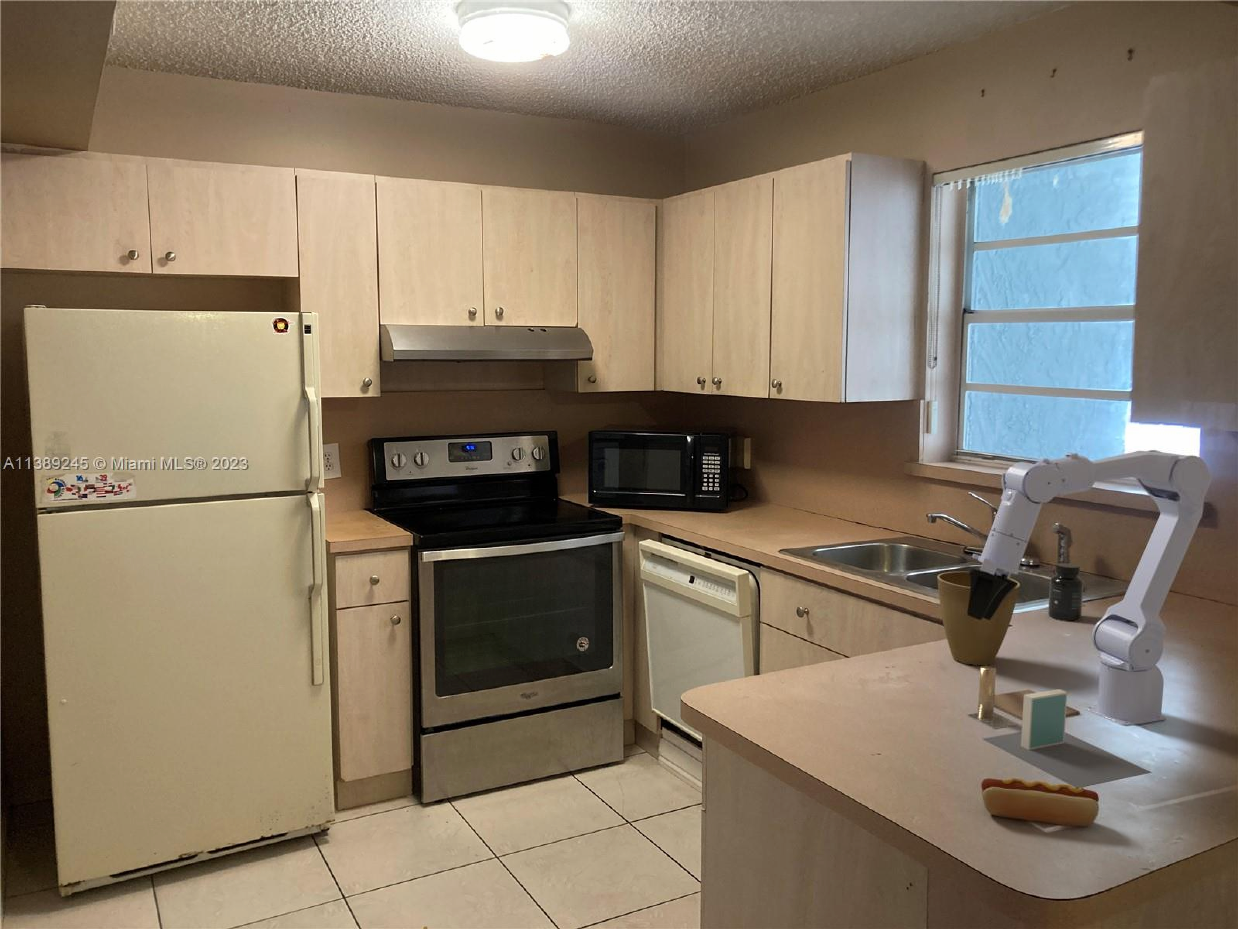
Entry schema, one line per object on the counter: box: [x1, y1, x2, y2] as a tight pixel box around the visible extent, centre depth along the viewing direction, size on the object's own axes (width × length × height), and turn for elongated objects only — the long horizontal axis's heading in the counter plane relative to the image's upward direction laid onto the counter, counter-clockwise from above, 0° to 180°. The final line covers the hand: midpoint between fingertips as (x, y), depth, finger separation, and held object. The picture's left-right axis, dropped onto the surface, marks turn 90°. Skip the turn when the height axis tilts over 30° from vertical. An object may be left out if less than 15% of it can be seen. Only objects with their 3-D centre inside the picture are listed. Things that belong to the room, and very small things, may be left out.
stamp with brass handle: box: [966, 665, 1019, 730], centre depth 156 cm, size 6×5×9 cm
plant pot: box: [937, 571, 1020, 666], centre depth 188 cm, size 15×15×16 cm
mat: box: [982, 731, 1152, 788], centre depth 143 cm, size 14×18×1 cm
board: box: [994, 689, 1081, 721], centre depth 163 cm, size 11×11×1 cm
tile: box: [1021, 688, 1068, 750], centre depth 146 cm, size 7×2×8 cm, turn 112°
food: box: [980, 777, 1100, 827], centre depth 124 cm, size 14×6×5 cm, turn 75°
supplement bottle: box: [1047, 562, 1084, 622], centre depth 219 cm, size 7×7×12 cm
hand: (978, 617), depth 152 cm, fingers open, 7 cm apart
